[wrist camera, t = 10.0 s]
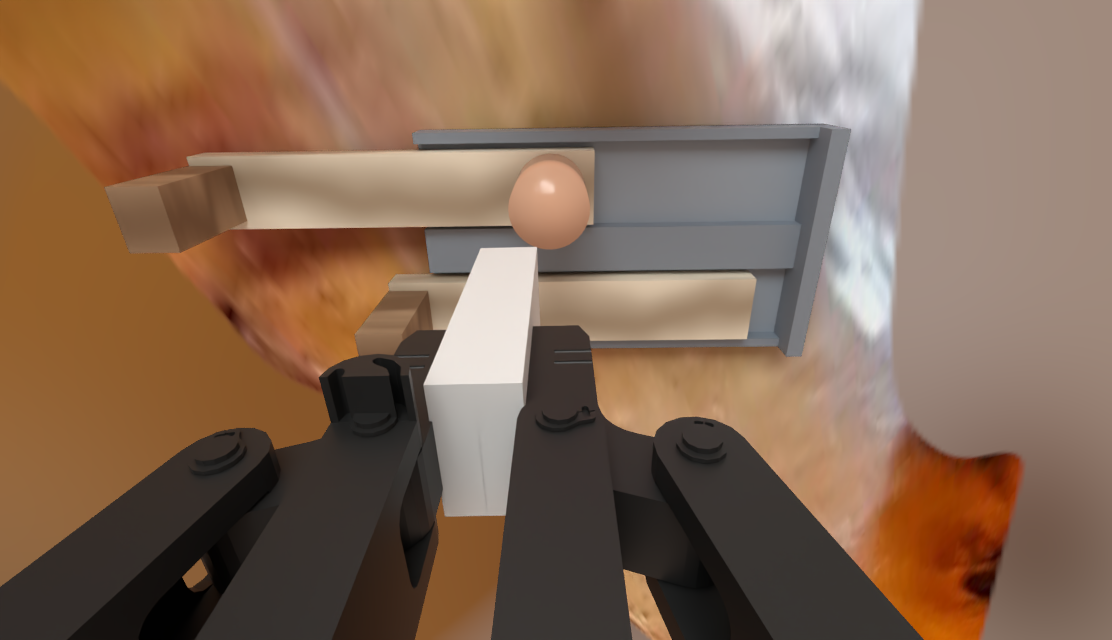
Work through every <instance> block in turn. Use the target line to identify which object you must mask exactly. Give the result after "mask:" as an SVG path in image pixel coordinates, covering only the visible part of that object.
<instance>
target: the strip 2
mask: <svg viewBox="0 0 1112 640" xmlns="http://www.w3.org/2000/svg"><path fill="white" fill-rule="evenodd" d="M469 275H470V273H452V274H396V275H395V276H394V277H393V278H392V280H391V281H390V282H389V283H388V286H389V291H388V293H387V294H386V295H385V296H384V298H383V299H382V300H381V301H380V303H379V304H378V305H377V307H376V308H375V309H374V310H373V312H372V313H371V314H370V315H369V317H368V318H367V319H366V321H365V322H364V323H363V324H362V326H361V327H360V328H359V329H358V331H357V332H356V333H355V340H356V344H357V349H358V354H359V356H363V355H371V354H387V355H394V353H395V352H396V350H397V348H398V346H399V345H400V343H401V342H402V341H403V340H404V339H406V338H407V337H408V336H410V335H411V334H413V333H414V332H415V331H417V330H447V327H448V325H449V323H450V320H451V318H452V316H453V313H454V311H455V308H456V306H457V304H458V301H459V299H460V296H461V294H462V292H463V289H464V287H465V284H466V282H467V280H468V277H469ZM756 280H757V279H756V278H755V277H754V276H753V275H752V274H751V273H750V272H749V271H748V270H698V271H616V272H538V283H539V307H540V326H566V325H579V326H580V327H581V328H582V329H583V330H584V331H585V332H586V333H587V334H588V335H589V337H590V341H619V340H714V339H747V335H748V329H749V323H750V317H751V311H752V305H753V299H754V293H755V286H756Z"/></svg>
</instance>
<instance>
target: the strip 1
mask: <svg viewBox="0 0 1112 640" xmlns="http://www.w3.org/2000/svg"><path fill="white" fill-rule="evenodd" d="M548 153H553V154H559V155H562V156H565V157H567V158H568V159H570V160H571V161H573V162H574V163H575V164H576V165H577V166H578V168H579V169H580V171H581V173H582V175H583V178H584V181H585V185H586V189H587V193H588V198H589V203H590V216H589V220H588V223H587V225H593V218H594V158H595V151H594V148H593V147H551V148H485V149H418V150H352V151H285V152H219V153H201V154H197V155H193V156H188V157H186V158H187V161H188V164H189V166H187V167H183V168H179V169H175V170H170V171H166V172H162V173H158V174H154V175H150V176H146V177H142V178H138V179H134V180H130V181H126V182H122V183H118V184H114V185H110V186H106V187H104V188H105V191H106V194H107V196H108V199H109V201H110V204H111V206H112V209H113V212H114V214H115V217H116V219H117V222H118V224H119V227H120V230H121V232H122V235H123V237H124V240H125V242H126V245H127V247H128V250H129V253H181V252H183V251H185V250H187V249H189V248H191V247H193V246H196V245H198V244H200V243H202V242H204V241H206V240H208V239H210V238H212V237H215V236H217V235H219V234H221V233H223V232H225V231H227V230H229V229H302V228H377V227H453V226H512V224H511V222H510V218H509V212H508V205H509V199H510V195H511V193H512V190H513V188H514V185H515V183H516V180H517V178H518V175H519V173H520V171H521V169H522V168H523V166H524V165H525V164H526V163H527V162H528V161H530V160H531V159H532V158H534V157H536V156H539V155H542V154H548Z"/></svg>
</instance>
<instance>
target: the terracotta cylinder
mask: <svg viewBox="0 0 1112 640" xmlns="http://www.w3.org/2000/svg"><path fill="white" fill-rule="evenodd" d="M508 212H509V218H510V222H511V224H512V227H513V228H514V230H515V232H516V233H517V234H518V235H519V237H520V238H521V239H523V240H524V241H525V242H527V243H528V244H530V245H532V246H534V247H537V248H541V249H558V248H562V247H565V246H567V245H569V244H571V243H572V242H574V241H575V240H576V239H577V238H578V237H579V236H580V235H581V234H582V233H583V231H584V230H585V228H586V226H587V223H588V220H589V216H590V203H589V198H588V193H587V189H586V185H585V181H584V178H583V175H582V173H581V171H580V169H579V168H578V166H577V165H576V164H575V163H574V162H573V161H571V160H570V159H568V158H567V157H565V156H562V155H559V154H553V153H548V154H542V155H539V156H536V157H534V158H532V159H531V160H530V161H528V162H527V163H526V164H525V165H524V166H523V168H522V169H521V171H520V173H519V175H518V178H517V180H516V183H515V185H514V188H513V190H512V193H511V195H510V199H509V205H508Z"/></svg>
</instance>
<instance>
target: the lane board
mask: <svg viewBox="0 0 1112 640" xmlns="http://www.w3.org/2000/svg"><path fill="white" fill-rule="evenodd" d="M850 132H851V129H848V128H843V127H838V126H833V125H827V124H777V125H712V126H647V127H583V128H518V129H454V130H419V131H416V132H414V133H412V136H413V144H418V147H419V149H485V148H551V147H593V148H594V151H595V158H594V218H593V225H587V226H586V228H585V230H584V231H583V233H582V234H581V235H580V236H579V237H578V238H577V239H576V240H575V241H574V242H572V243H571V244H569V245H567V246H565V247H562V248H558V249H541V248H537V260H538V272H616V271H698V270H748V271H749V272H750V273H751V274H752V275H753V276H754V277H755V278H756V279H757V280H756V286H755V293H754V299H753V305H752V311H751V317H750V323H749V329H748V335H747V339H714V340H619V341H590V345H591V348H664V347H760V346H778V347H779V348H780V350H781V351H782V352H783V353H784V355H785V356H786V357H791V356H802V351H803V347H804V342H805V338H806V333H807V329H808V324H809V319H810V315H811V310H812V306H813V301H814V297H815V292H816V288H817V283H818V278H819V274H820V269H821V265H822V260H823V256H824V251H825V246H826V242H827V237H828V233H829V228H830V224H831V219H832V215H833V210H834V205H835V201H836V196H837V192H838V187H839V183H840V178H841V174H842V169H843V164H844V160H845V155H846V151H847V146H848V142H849V137H850ZM425 237H426V245H427V253H428V261H429V269H430V273H434V274H452V273H471V270H472V268H473V265H474V263H475V261H476V258H477V256H478V253H479V251H480V249H481V248H510V247H534V246H532V245H530V244H528V243H527V242H525V241H524V240H523V239H521V238H520V237H519V235H518V234H517V233H516V232H515V230H514V228H513V227H512V226H453V227H427V228H426V229H425Z"/></svg>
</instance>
